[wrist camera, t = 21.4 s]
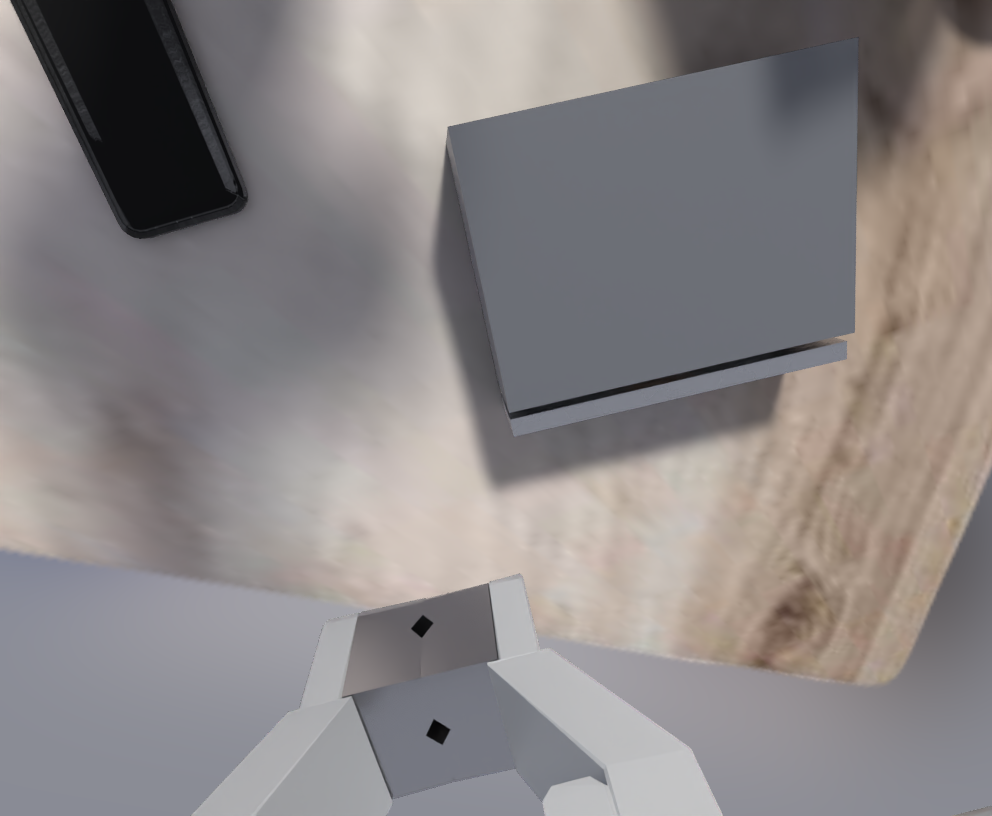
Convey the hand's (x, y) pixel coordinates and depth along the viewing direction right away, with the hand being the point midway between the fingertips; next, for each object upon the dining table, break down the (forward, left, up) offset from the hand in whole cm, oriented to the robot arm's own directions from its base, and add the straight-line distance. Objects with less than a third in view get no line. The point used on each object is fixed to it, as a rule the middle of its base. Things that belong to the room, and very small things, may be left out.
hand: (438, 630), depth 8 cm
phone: (-16, -14, -32) cm, 38 cm away
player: (-2, +14, -31) cm, 34 cm away
